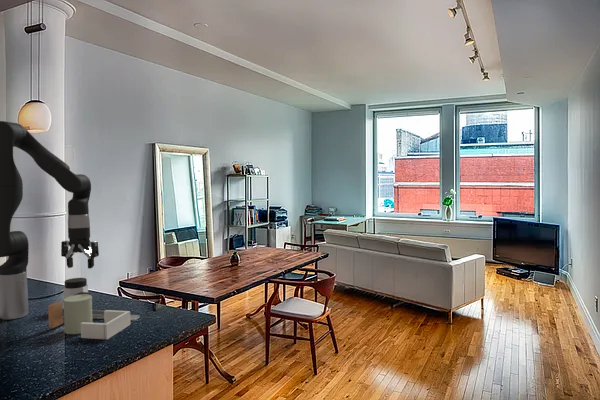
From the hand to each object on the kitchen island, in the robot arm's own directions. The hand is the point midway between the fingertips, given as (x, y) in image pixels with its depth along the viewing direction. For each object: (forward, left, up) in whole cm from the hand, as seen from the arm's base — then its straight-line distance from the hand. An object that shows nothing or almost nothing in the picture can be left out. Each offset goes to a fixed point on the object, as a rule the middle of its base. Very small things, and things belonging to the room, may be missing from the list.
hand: (80, 267), depth 165 cm
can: (+8, -13, -19) cm, 25 cm away
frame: (+18, -13, -19) cm, 29 cm away
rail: (+10, 0, -19) cm, 22 cm away
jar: (-9, +9, -19) cm, 23 cm away
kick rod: (+4, -7, -18) cm, 20 cm away
